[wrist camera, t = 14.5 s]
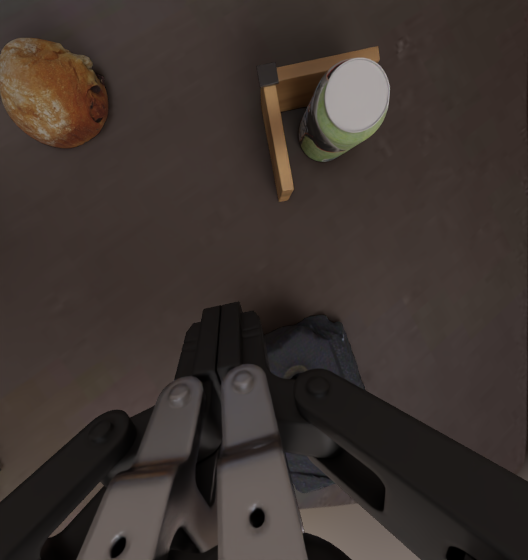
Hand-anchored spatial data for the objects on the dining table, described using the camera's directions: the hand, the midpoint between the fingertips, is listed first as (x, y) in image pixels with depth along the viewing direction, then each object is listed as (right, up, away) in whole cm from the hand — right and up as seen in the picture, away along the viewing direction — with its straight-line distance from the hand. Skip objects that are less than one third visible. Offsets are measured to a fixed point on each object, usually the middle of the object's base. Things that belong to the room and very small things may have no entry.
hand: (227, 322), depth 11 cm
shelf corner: (+8, +18, +20) cm, 28 cm away
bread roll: (-21, +22, +20) cm, 36 cm away
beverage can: (+8, +18, +20) cm, 28 cm away
